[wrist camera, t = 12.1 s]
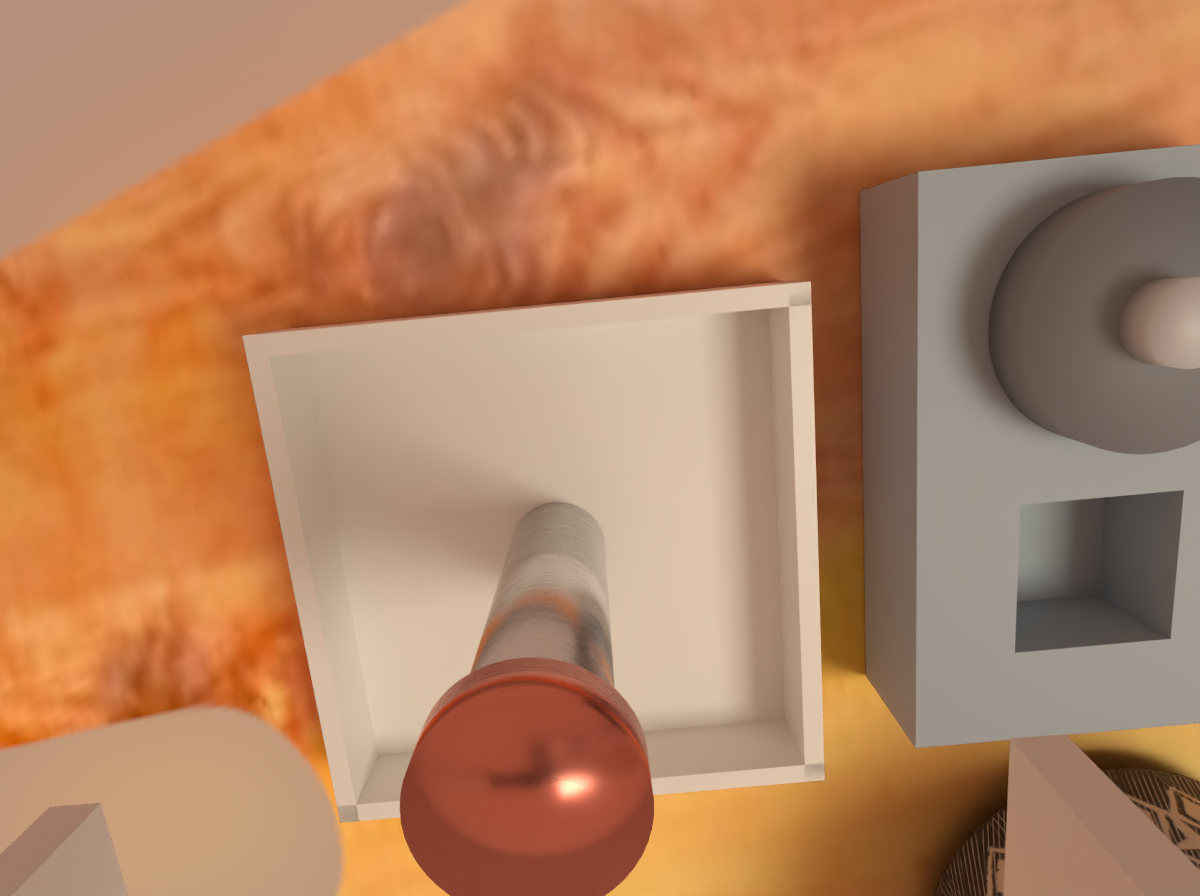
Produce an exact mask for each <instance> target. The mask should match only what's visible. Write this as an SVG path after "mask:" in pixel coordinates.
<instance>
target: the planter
mask: <svg viewBox="0 0 1200 896" xmlns="http://www.w3.org/2000/svg"><path fill="white" fill-rule="evenodd" d="M1101 771H1102V772H1103V773H1104V774H1105V775H1106V776H1107V777H1108V778H1109V779H1110V780H1111V781H1112V782H1113V783H1114V784H1115V785H1116V786H1117V787H1118V788H1119V789H1120V790H1121V791H1122V792H1123V793H1124V794H1125V795H1126V796H1127V797H1128V798H1129V799H1130V800H1131V801H1132V802H1133V803H1134V804H1135V805H1136V806H1137V807H1138V808H1139V809H1140V810H1141V811H1142V812H1143V813H1144V814H1145V815H1146V816H1147V817H1148V818H1149V819H1150V820H1151V821H1152V822H1153V824H1154V825H1155V826H1156V827H1157V828H1158V829H1159V830H1160V831H1161V832H1162V833H1163V834H1164V835H1165V836H1166V837H1167V838H1168V839H1169V840H1170V841H1171V842H1172V843H1173V844H1174V845H1175V846H1176V847H1177V848H1178V849H1179V850H1180V851H1181V852H1182V853H1183V854H1184V855H1185V856H1186V857H1187V858H1188V859H1189V860H1190V861H1191V862H1192V863H1193V864H1194V865H1195V866H1196V867H1197V868H1198V869H1199V870H1200V782H1199V781H1196V780H1194V779H1191V778H1188V777H1185V776H1182V775H1178V774H1174V773H1170V772H1165V771H1159V770H1151V769H1138V768H1115V769H1104V770H1101ZM1006 824H1007V805H1006V806H1004V807H1003V808H1001V809H1000V810H998V811H997V812H996V813H994V814H993V815H992V816H991V817H989V818H988V819H987V820H986V821H984V822H983V823H982V824H981V825H980V826H979V827H978V828H977V829H976V830H975V831H974V832H973V833H972V834H971V835H970V836H969V837H968V838H967V839H966V840H965V842H964V843H963V844H962V845H961V847H960V848H959V849H958V850H957V852H956V853H955V855H954V856H953V857H952V859H951V860H950V862H949V864H948V865H947V867H946V869H945V870H944V872H943V874H942V876H941V879H940V881H939V883H938V885H937V888H936V891H935V893H934V896H1003V893H1004V870H1005V847H1006Z"/></svg>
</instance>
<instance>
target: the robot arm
mask: <svg viewBox="0 0 1200 896" xmlns="http://www.w3.org/2000/svg"><path fill="white" fill-rule="evenodd" d="M0 896H128V894H127V890H126V887H125V884H124V880H123V877H122V874H121V870H120V867H119V863H118V860H117V857H116V854H115V850H114V846H113V843H112V839H111V836H110V833H109V829H108V826H107V823H106V819H105V816H104V812H103V809H102V806H101V803H96V804H83V805H70V806H69V805H68V806H54V807H49V808H48V809H47V810H46V811H45V812H44V813H43V814H42V815H41V816H40V817H39V818H38V819H37V820H36V821H35V822H34V823H33V824H32V825H31V826H30V827H29V828H28V829H26V830H25V831H24V832H23V833H22V834H21V835H20V836H19V837H18V838H17V839H16V840H15V841H14V842H13V843H12V844H11V845H10V846H9V847H8V848H7V849H5V850H4V851H3V853H1V854H0ZM1003 896H1200V870H1199V869H1198V868H1197V867H1196V866H1195V865H1194V864H1193V863H1192V862H1191V861H1190V860H1189V859H1188V858H1187V857H1186V856H1185V855H1184V854H1183V853H1182V852H1181V851H1180V850H1179V849H1178V848H1177V847H1176V846H1175V845H1174V844H1173V843H1172V842H1171V841H1170V840H1169V839H1168V838H1167V837H1166V836H1165V835H1164V834H1163V833H1162V832H1161V831H1160V830H1159V829H1158V828H1157V827H1156V826H1155V825H1154V824H1153V822H1152V821H1151V820H1150V819H1149V818H1148V817H1147V816H1146V815H1145V814H1144V813H1143V812H1142V811H1141V810H1140V809H1139V808H1138V807H1137V806H1136V805H1135V804H1134V803H1133V802H1132V801H1131V800H1130V799H1129V798H1128V797H1127V796H1126V795H1125V794H1124V793H1123V792H1122V791H1121V790H1120V789H1119V788H1118V787H1117V786H1116V785H1115V784H1114V783H1113V782H1112V781H1111V780H1110V779H1109V778H1108V777H1107V776H1106V775H1105V774H1104V773H1103V772H1102V771H1101V770H1100V769H1099V768H1098V767H1097V765H1096V764H1095V763H1094V762H1093V761H1092V760H1091V759H1090V758H1089V757H1088V756H1087V755H1086V754H1085V753H1084V752H1083V751H1082V750H1081V749H1080V748H1079V747H1078V746H1077V745H1076V744H1075V743H1074V742H1073V741H1072V740H1071V739H1070V738H1069V737H1068V736H1067V735H1066V734H1064V735H1050V736H1036V737H1022V738H1010V755H1009V778H1008V801H1007V824H1006V847H1005V870H1004V893H1003Z"/></svg>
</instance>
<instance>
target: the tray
mask: <svg viewBox="0 0 1200 896" xmlns="http://www.w3.org/2000/svg"><path fill="white" fill-rule="evenodd" d="M242 337H243V342H244V347H245V352H246V357H247V362H248V367H249V372H250V377H251V382H252V387H253V392H254V397H255V402H256V407H257V412H258V416H259V421H260V426H261V431H262V436H263V441H264V446H265V451H266V456H267V461H268V466H269V471H270V476H271V481H272V486H273V491H274V496H275V501H276V506H277V511H278V516H279V521H280V526H281V530H282V535H283V540H284V545H285V550H286V555H287V560H288V565H289V570H290V575H291V580H292V585H293V590H294V595H295V600H296V605H297V610H298V615H299V620H300V625H301V630H302V635H303V639H304V644H305V649H306V654H307V659H308V664H309V669H310V674H311V679H312V684H313V689H314V694H315V699H316V704H317V709H318V714H319V719H320V724H321V729H322V734H323V739H324V744H325V749H326V753H327V758H328V763H329V768H330V773H331V778H332V783H333V788H334V793H335V798H336V803H337V808H338V813H339V818H340V823H343V822H354V821H365V820H377V819H388V818H399V817H400V793H401V788H402V784H403V779H404V776H405V774H406V771H407V768H408V765H409V763H410V760H411V757H412V755H413V752H414V750H415V747H416V744H417V742H418V739H419V736H420V734H421V731H422V729H423V726H424V723H425V721H426V719H427V717H428V715H429V713H430V712H431V710H432V708H433V707H434V705H435V704H436V703H437V701H438V700H439V699H440V697H441V696H442V695H443V694H444V693H445V692H446V691H447V690H448V689H449V688H450V687H451V686H453V685H454V684H455V683H456V682H458V681H459V680H460V679H462V678H463V677H465V676H467V675H468V674H470V672H471V669H472V666H473V663H474V659H475V656H476V653H477V650H478V646H479V643H480V640H481V637H482V634H483V630H484V627H485V624H486V621H487V618H488V614H489V611H490V608H491V605H492V601H493V598H494V595H495V592H496V589H497V585H498V582H499V579H500V576H501V573H502V569H503V566H504V563H505V560H506V557H507V553H508V550H509V547H510V544H511V540H512V537H513V534H514V531H515V529H516V527H517V525H518V523H519V522H520V520H521V519H522V518H523V517H524V516H525V515H526V514H527V513H528V512H530V511H531V510H532V509H534V508H536V507H538V506H540V505H543V504H546V503H552V502H564V503H570V504H573V505H576V506H579V507H580V508H582V509H584V510H586V511H587V512H588V513H589V514H591V515H592V516H593V517H594V518H595V520H596V521H597V522H598V524H599V525H600V527H601V529H602V532H603V535H604V539H605V549H606V565H607V580H608V595H609V611H610V626H611V641H612V656H613V672H614V687H615V689H616V690H617V691H618V692H619V693H620V694H621V695H622V697H623V698H624V699H625V700H626V701H627V702H628V704H629V705H630V707H631V708H632V710H633V711H634V713H635V714H636V716H637V718H638V720H639V722H640V724H641V727H642V730H643V733H644V736H645V739H646V745H647V751H648V759H649V767H650V774H651V782H652V790H653V795H661V794H672V793H683V792H695V791H706V790H717V789H729V788H740V787H751V786H763V785H774V784H785V783H797V782H808V781H820V780H825V776H824V740H823V704H822V667H821V631H820V595H819V559H818V522H817V486H816V450H815V414H814V377H813V341H812V305H811V282H806V281H781V282H770V283H760V284H749V285H739V286H728V287H718V288H707V289H697V290H686V291H676V292H665V293H655V294H644V295H634V296H624V297H613V298H603V299H592V300H582V301H571V302H561V303H550V304H540V305H529V306H519V307H508V308H498V309H487V310H477V311H466V312H456V313H445V314H435V315H425V316H414V317H404V318H393V319H383V320H372V321H362V322H351V323H341V324H330V325H320V326H309V327H299V328H288V329H282V330H276V331H269V332H263V333H257V334H250V335H244V336H242Z"/></svg>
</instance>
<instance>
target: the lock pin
mask: <svg viewBox="0 0 1200 896" xmlns="http://www.w3.org/2000/svg"><path fill="white" fill-rule="evenodd" d="M400 817H401V825H402V829H403V833H404V837H405V839H406V842H407V844H408V846H409V849H410V851H411V853H412V855H413V856H414V858H415V860H416V861H417V863H418V864H419V866H420V867H421V868H422V870H423V871H424V872H425V873H426V875H427V876H428V877H429V878H430V879H431V880H432V881H433V882H434V883H435V884H436V885H437V886H439V887H440V888H441V889H443V890H444V891H445V892H447V893H448V894H449V895H451V896H605V895H606V894H607V893H609V892H610V891H612V890H613V889H614V888H615V887H616V886H618V885H619V884H620V883H621V882H622V881H623V880H624V879H625V878H626V877H627V876H628V874H629V873H630V872H631V871H632V870H633V868H634V867H635V866H636V864H637V862H638V861H639V859H640V858H641V856H642V854H643V852H644V850H645V848H646V845H647V843H648V840H649V837H650V833H651V830H652V824H653V817H654V798H653V790H652V782H651V774H650V767H649V759H648V751H647V745H646V739H645V736H644V733H643V730H642V727H641V724H640V722H639V720H638V718H637V716H636V714H635V713H634V711H633V710H632V708H631V707H630V705H629V704H628V702H627V701H626V700H625V699H624V698H623V697H622V695H621V694H620V693H619V692H618V691H617V690H616V689H615V687H614V672H613V656H612V641H611V626H610V611H609V595H608V580H607V565H606V549H605V539H604V535H603V532H602V529H601V527H600V525H599V524H598V522H597V521H596V520H595V518H594V517H593V516H592V515H591V514H589V513H588V512H587V511H586V510H584V509H582V508H580V507H579V506H576V505H573V504H570V503H564V502H552V503H546V504H543V505H540V506H538V507H536V508H534V509H532V510H531V511H530V512H528V513H527V514H526V515H525V516H524V517H523V518H522V519H521V520H520V522H519V523H518V525H517V527H516V529H515V531H514V534H513V537H512V540H511V544H510V547H509V550H508V553H507V557H506V560H505V563H504V566H503V569H502V573H501V576H500V579H499V582H498V585H497V589H496V592H495V595H494V598H493V601H492V605H491V608H490V611H489V614H488V618H487V621H486V624H485V627H484V630H483V634H482V637H481V640H480V643H479V646H478V650H477V653H476V656H475V659H474V663H473V666H472V669H471V672H470V674H468V675H467V676H465V677H463V678H462V679H460V680H459V681H458V682H456V683H455V684H454V685H453V686H451V687H450V688H449V689H448V690H447V691H446V692H445V693H444V694H443V695H442V696H441V697H440V699H439V700H438V701H437V703H436V704H435V705H434V707H433V708H432V710H431V712H430V713H429V715H428V717H427V719H426V721H425V723H424V726H423V729H422V731H421V734H420V736H419V739H418V742H417V744H416V747H415V750H414V752H413V755H412V757H411V760H410V763H409V765H408V768H407V771H406V774H405V776H404V779H403V784H402V788H401V793H400Z"/></svg>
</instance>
